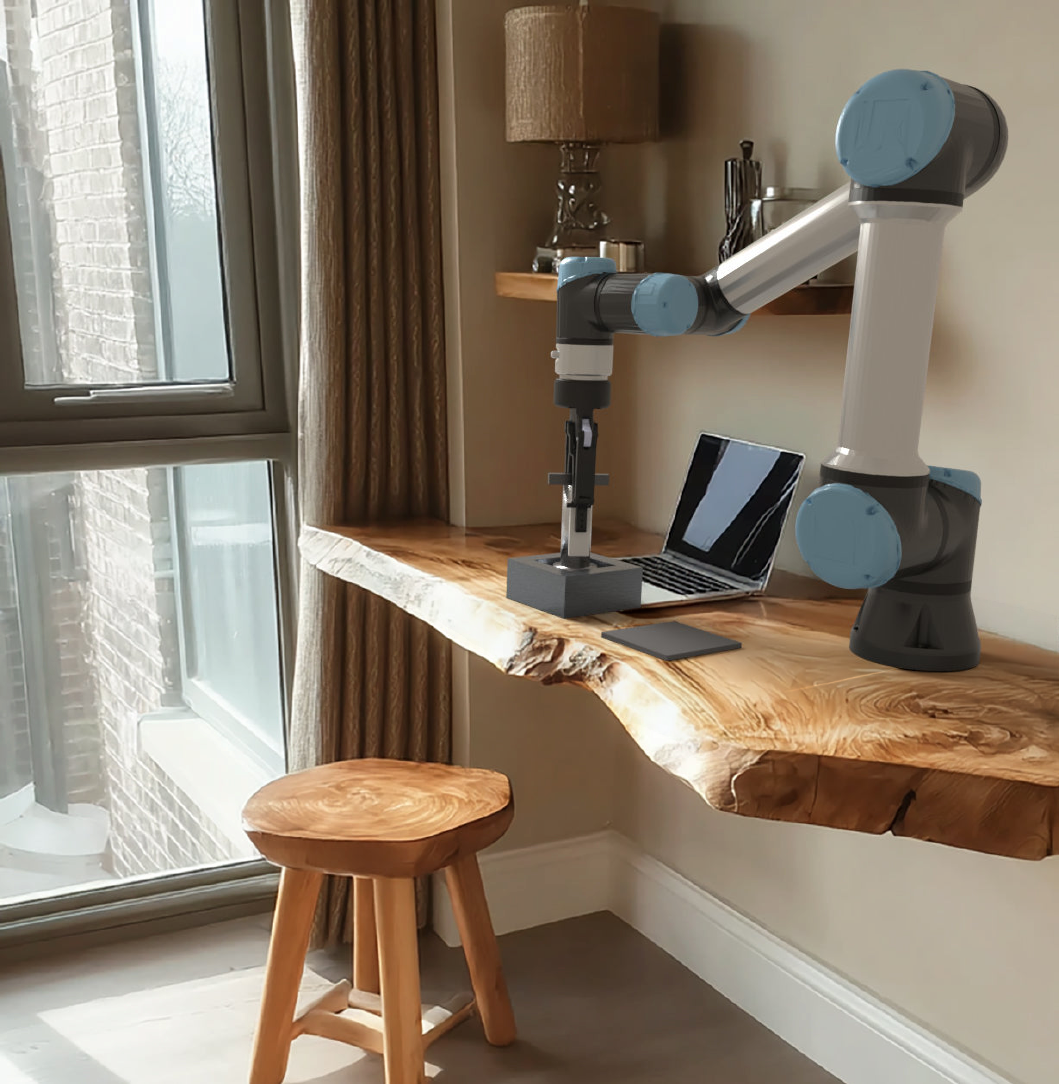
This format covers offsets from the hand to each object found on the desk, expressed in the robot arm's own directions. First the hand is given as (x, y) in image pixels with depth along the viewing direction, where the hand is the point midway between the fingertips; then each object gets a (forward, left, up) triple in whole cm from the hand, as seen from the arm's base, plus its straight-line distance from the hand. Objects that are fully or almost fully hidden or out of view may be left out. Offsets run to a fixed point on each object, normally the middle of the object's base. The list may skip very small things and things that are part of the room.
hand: (576, 551), depth 174 cm
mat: (-22, +2, -7) cm, 23 cm away
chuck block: (0, 0, -7) cm, 7 cm away
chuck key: (0, 0, -4) cm, 4 cm away
